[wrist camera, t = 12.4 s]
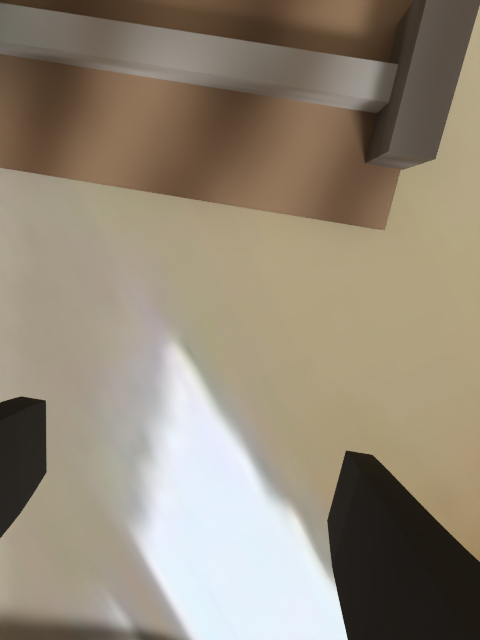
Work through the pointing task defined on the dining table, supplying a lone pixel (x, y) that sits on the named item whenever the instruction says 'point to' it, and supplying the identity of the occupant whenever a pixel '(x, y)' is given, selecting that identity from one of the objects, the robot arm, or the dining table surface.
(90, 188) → the dining table surface
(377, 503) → the robot arm
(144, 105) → the rail board
